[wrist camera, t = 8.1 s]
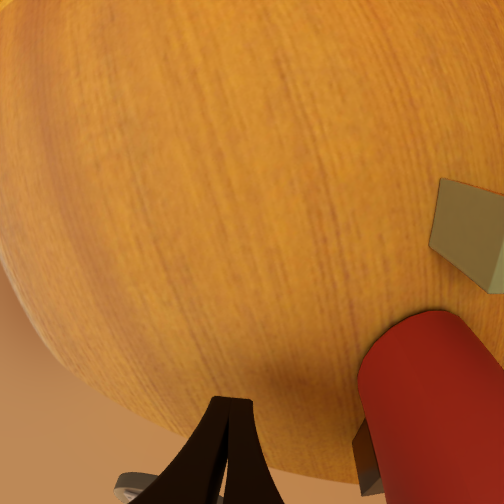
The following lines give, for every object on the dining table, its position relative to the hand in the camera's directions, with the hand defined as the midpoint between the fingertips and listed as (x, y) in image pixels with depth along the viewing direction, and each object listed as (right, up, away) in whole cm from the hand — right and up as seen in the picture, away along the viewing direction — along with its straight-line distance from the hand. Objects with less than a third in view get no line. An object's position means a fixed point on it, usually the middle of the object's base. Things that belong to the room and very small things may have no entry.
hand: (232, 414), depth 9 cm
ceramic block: (+12, +7, +1) cm, 14 cm away
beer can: (+9, 0, +4) cm, 10 cm away
